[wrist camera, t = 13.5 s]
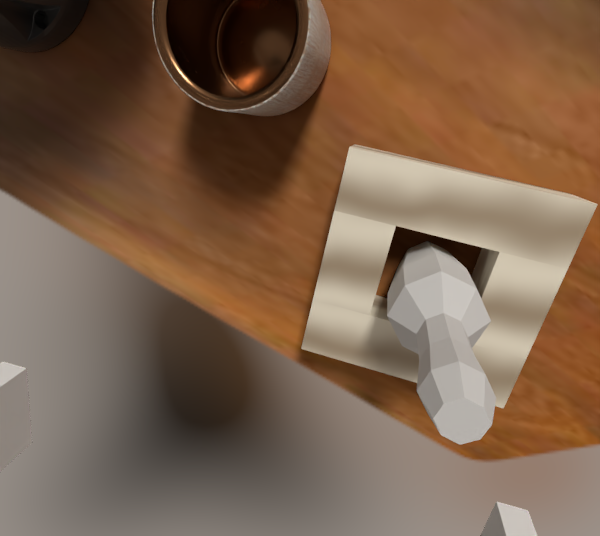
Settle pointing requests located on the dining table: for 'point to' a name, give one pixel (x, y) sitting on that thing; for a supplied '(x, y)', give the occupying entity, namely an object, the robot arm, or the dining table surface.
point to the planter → (244, 51)
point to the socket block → (451, 225)
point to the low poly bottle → (443, 339)
